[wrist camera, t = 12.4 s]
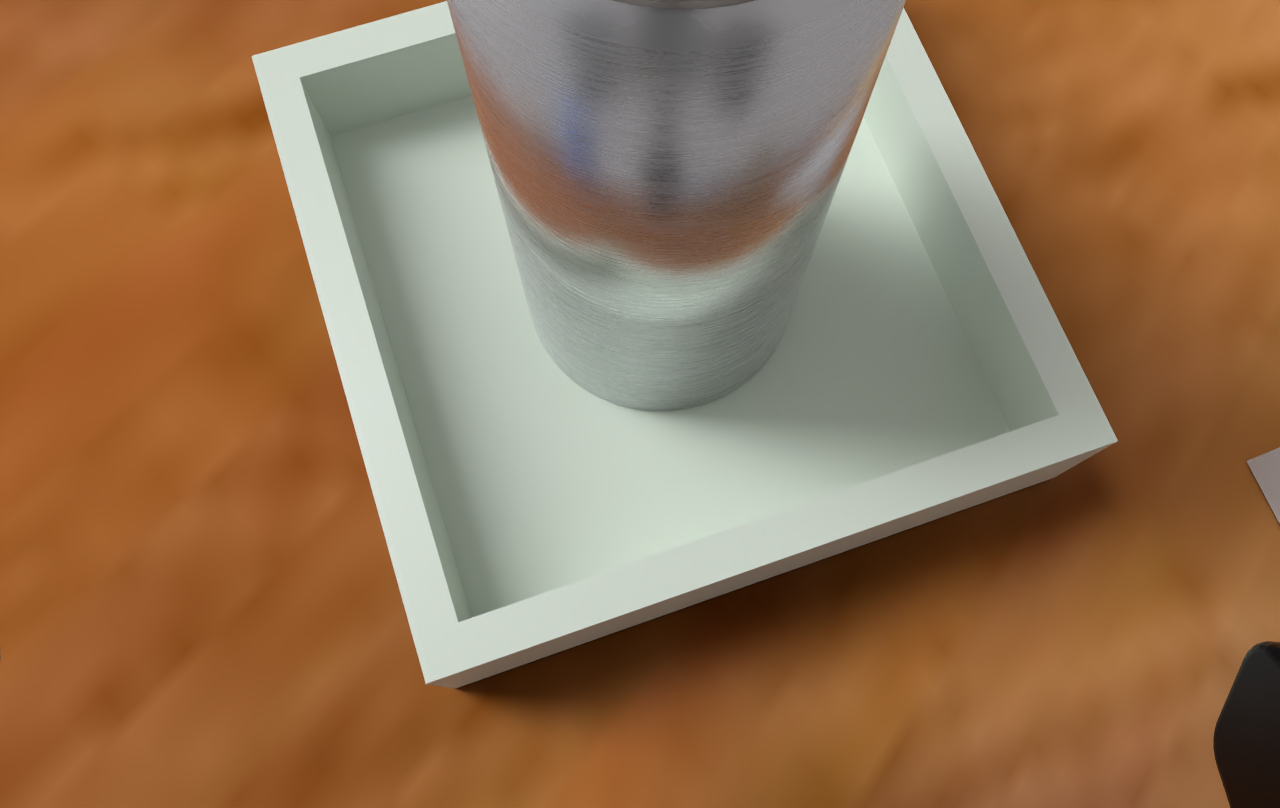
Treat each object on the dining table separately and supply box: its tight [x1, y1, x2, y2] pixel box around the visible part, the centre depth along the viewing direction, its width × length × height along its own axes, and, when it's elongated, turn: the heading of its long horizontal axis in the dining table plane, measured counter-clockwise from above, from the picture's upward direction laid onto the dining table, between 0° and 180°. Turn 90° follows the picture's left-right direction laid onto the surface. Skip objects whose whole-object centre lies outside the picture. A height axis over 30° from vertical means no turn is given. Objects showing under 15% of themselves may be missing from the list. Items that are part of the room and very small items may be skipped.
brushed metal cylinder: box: [447, 0, 906, 411], centre depth 16 cm, size 6×6×12 cm
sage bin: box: [252, 1, 1118, 689], centre depth 21 cm, size 13×13×3 cm
